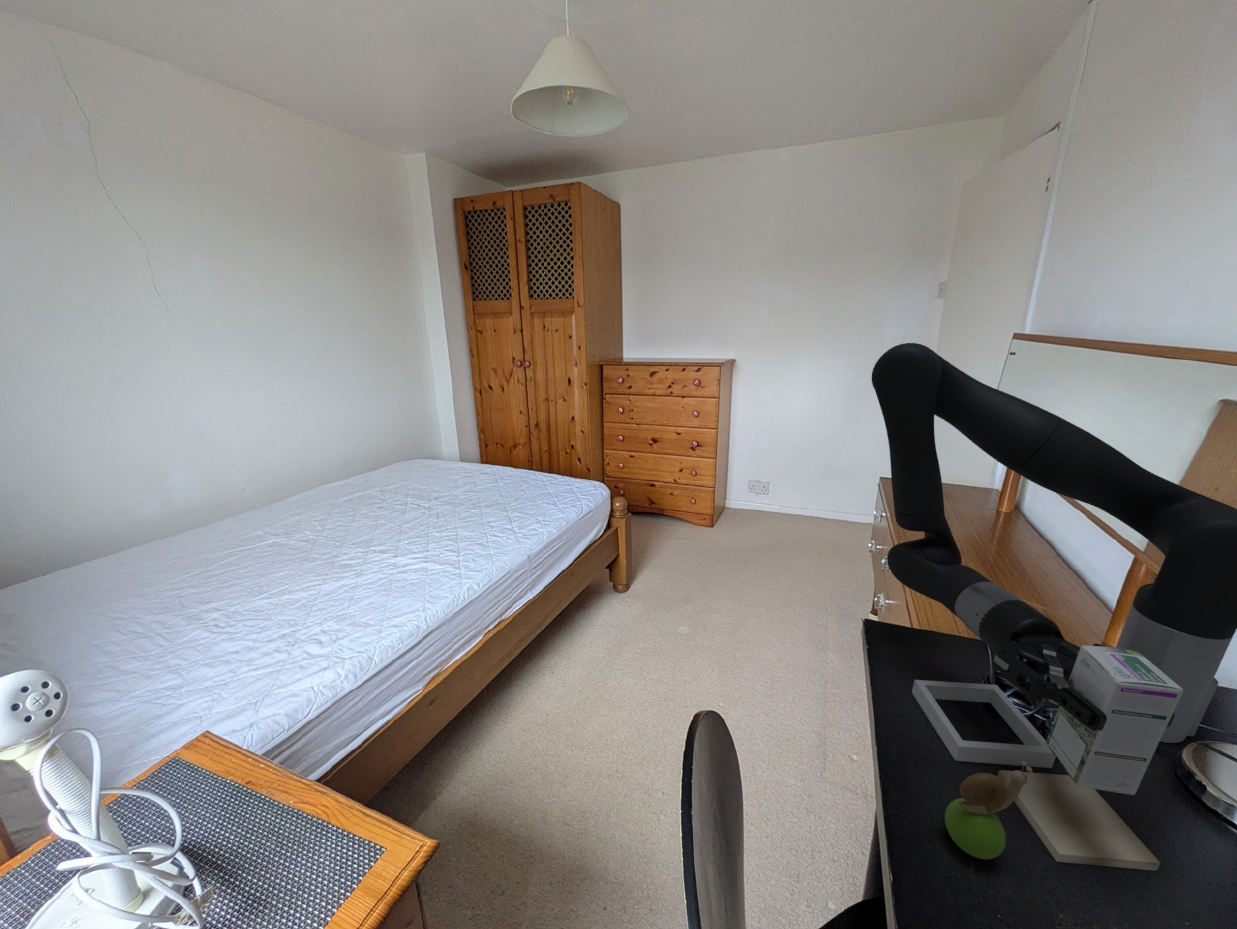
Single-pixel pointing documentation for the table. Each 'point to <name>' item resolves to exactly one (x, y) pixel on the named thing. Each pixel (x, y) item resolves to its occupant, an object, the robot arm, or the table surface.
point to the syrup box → (1114, 719)
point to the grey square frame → (982, 752)
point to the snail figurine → (983, 812)
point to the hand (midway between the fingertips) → (1135, 722)
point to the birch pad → (1079, 823)
